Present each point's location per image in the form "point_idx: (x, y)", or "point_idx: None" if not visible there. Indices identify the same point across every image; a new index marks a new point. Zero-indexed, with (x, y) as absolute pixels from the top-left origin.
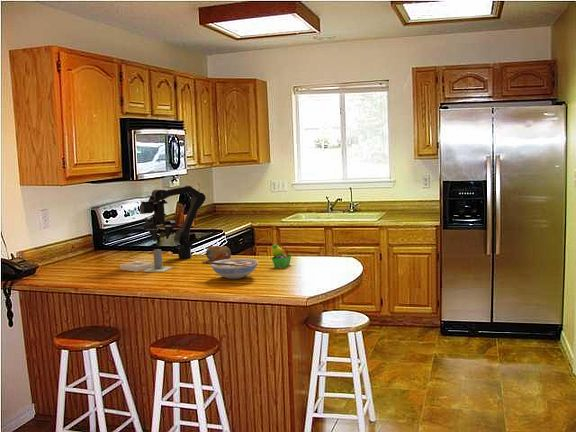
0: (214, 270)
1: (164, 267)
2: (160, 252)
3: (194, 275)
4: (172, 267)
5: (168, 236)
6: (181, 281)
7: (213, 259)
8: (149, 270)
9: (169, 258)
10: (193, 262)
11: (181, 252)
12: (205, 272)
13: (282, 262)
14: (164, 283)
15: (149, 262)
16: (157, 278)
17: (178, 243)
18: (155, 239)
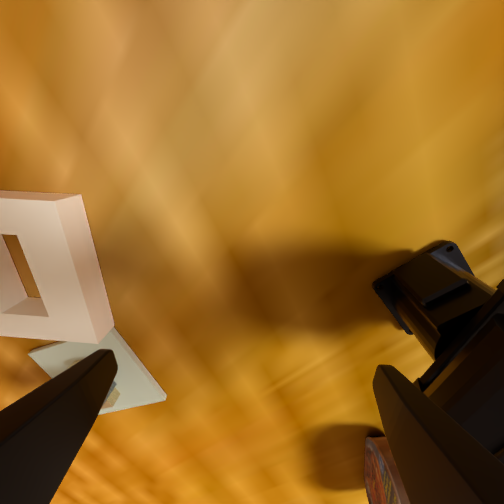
0: None
1: (117, 398)
2: None
3: (137, 493)
4: (162, 398)
5: (399, 443)
6: (70, 498)
7: (371, 453)
8: (49, 370)
9: (376, 197)
10: (307, 399)
11: (412, 315)
12: (184, 497)
13: None
14: None
15: (84, 315)
16: None
17: (439, 380)
18: (93, 405)
